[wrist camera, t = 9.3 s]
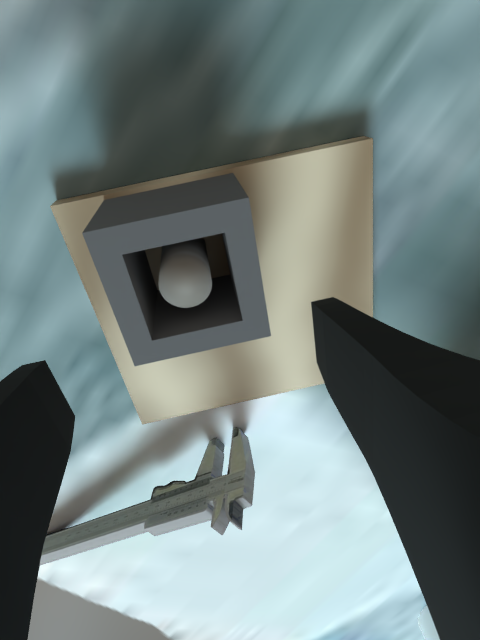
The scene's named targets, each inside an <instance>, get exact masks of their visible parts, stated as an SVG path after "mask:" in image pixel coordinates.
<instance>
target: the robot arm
mask: <svg viewBox="0 0 480 640" xmlns="http://www.w3.org/2000/svg"><path fill="white" fill-rule="evenodd" d="M311 308H312V318H313V329H314V340H315V351H316V361H317V365H318V367H319V370H320V372H321V375H322V378H323V380H324V383H325V385H326V388H327V390H328V392H329V394H330V396H331V398H332V400H333V402H334V403H335V405H336V407H337V409H338V411H339V413H340V414H341V416H342V418H343V420H344V421H345V423H346V425H347V427H348V429H349V430H350V432H351V434H352V436H353V438H354V439H355V441H356V443H357V445H358V446H359V448H360V450H361V452H362V454H363V455H364V457H365V459H366V461H367V463H368V465H369V467H370V469H371V471H372V473H373V475H374V477H375V479H376V482H377V484H378V486H379V489H380V491H381V493H382V496H383V498H384V500H385V503H386V505H387V507H388V509H389V512H390V514H391V517H392V519H393V522H394V524H395V526H396V529H397V531H398V534H399V536H400V538H401V541H402V543H403V546H404V548H405V550H406V553H407V556H408V558H409V561H410V563H411V566H412V568H413V571H414V573H415V576H416V578H417V581H418V583H419V586H420V588H421V591H422V593H423V596H424V599H425V601H426V604H427V606H428V609H429V612H430V614H431V617H432V620H433V622H434V625H435V628H436V630H437V633H438V636H439V638H440V640H480V361H479V360H476V359H473V358H469V357H466V356H463V355H460V354H457V353H454V352H452V351H449V350H446V349H443V348H440V347H437V346H435V345H432V344H429V343H427V342H424V341H422V340H420V339H417V338H415V337H413V336H410V335H408V334H406V333H403V332H401V331H399V330H397V329H395V328H393V327H391V326H388V325H386V324H384V323H382V322H380V321H378V320H376V319H375V318H373V317H371V316H369V315H367V314H365V313H363V312H361V311H359V310H357V309H356V308H354V307H352V306H350V305H348V304H346V303H344V302H343V301H341V300H339V299H337V298H334V297H331V298H326V299H322V300H317V301H312V302H311ZM74 421H75V415H74V413H73V411H72V410H71V408H70V406H69V404H68V402H67V400H66V398H65V397H64V395H63V393H62V391H61V389H60V387H59V385H58V384H57V382H56V380H55V378H54V376H53V374H52V372H51V370H50V369H49V367H48V365H47V363H46V361H45V360H44V361H40V362H35V363H30V364H26V365H22V366H20V367H19V368H18V369H16V370H15V371H13V372H12V373H11V374H9V375H8V376H7V377H5V378H4V379H3V380H2V381H1V382H0V640H27V638H28V632H29V625H30V619H31V612H32V605H33V599H34V593H35V587H36V582H37V576H38V571H39V566H40V560H41V555H42V550H43V546H44V542H45V538H46V534H47V530H48V527H49V523H50V520H51V517H52V513H53V510H54V506H55V503H56V500H57V496H58V493H59V490H60V486H61V483H62V479H63V476H64V472H65V469H66V465H67V462H68V458H69V454H70V451H71V444H72V438H73V430H74Z"/></svg>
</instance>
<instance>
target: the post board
mask: <svg viewBox="0 0 480 640" xmlns="http://www.w3.org/2000/svg"><path fill="white" fill-rule="evenodd" d="M229 173H233V174H234V175H235V177H236V178H237V180H238V181H239V183H240V184H241V186H242V188H243V189H244V191H245V192H246V194H247V195H248V197H249V202H250V208H251V214H252V220H253V226H254V233H255V239H256V245H257V251H258V257H259V264H260V270H261V276H262V282H263V288H264V295H265V301H266V307H267V313H268V319H269V326H270V332H271V336H269V337H265V338H260V339H256V340H251V341H247V342H242V343H238V344H233V345H229V346H224V347H220V348H215V349H211V350H206V351H202V352H197V353H193V354H188V355H184V356H179V357H175V358H170V359H166V360H161V361H157V362H152V363H148V364H143V365H139V366H134V363H133V361H132V358H131V356H130V353H129V351H128V348H127V346H126V343H125V341H124V338H123V336H122V333H121V330H120V328H119V325H118V323H117V320H116V318H115V315H114V313H113V310H112V308H111V305H110V303H109V300H108V298H107V295H106V293H105V290H104V287H103V285H102V282H101V280H100V277H99V275H98V272H97V270H96V267H95V265H94V262H93V260H92V257H91V255H90V252H89V250H88V247H87V244H86V242H85V239H84V237H83V234H82V232H83V231H84V229H85V228H86V226H87V225H88V223H89V222H90V220H91V219H92V217H93V216H94V214H95V213H96V211H97V210H98V208H99V207H100V205H101V204H102V202H103V201H104V200H106V199H111V198H116V197H121V196H125V195H130V194H135V193H139V192H144V191H149V190H154V189H158V188H163V187H168V186H173V185H177V184H182V183H187V182H192V181H196V180H201V179H206V178H210V177H215V176H220V175H225V174H229ZM50 207H51V209H52V212H53V214H54V216H55V219H56V221H57V223H58V226H59V228H60V231H61V233H62V235H63V238H64V240H65V242H66V245H67V247H68V249H69V252H70V254H71V257H72V259H73V261H74V264H75V266H76V268H77V271H78V273H79V276H80V278H81V280H82V283H83V285H84V287H85V290H86V292H87V294H88V297H89V299H90V302H91V304H92V306H93V309H94V311H95V313H96V316H97V318H98V320H99V323H100V325H101V328H102V330H103V332H104V335H105V337H106V339H107V342H108V344H109V347H110V349H111V351H112V354H113V356H114V358H115V361H116V363H117V365H118V368H119V370H120V373H121V375H122V377H123V380H124V382H125V384H126V387H127V389H128V391H129V394H130V396H131V399H132V401H133V403H134V406H135V408H136V410H137V413H138V415H139V418H140V420H141V422H142V424H147V423H151V422H156V421H160V420H164V419H169V418H173V417H178V416H182V415H187V414H191V413H195V412H200V411H204V410H209V409H213V408H218V407H222V406H226V405H231V404H235V403H240V402H244V401H249V400H253V399H257V398H262V397H266V396H271V395H275V394H280V393H284V392H288V391H293V390H297V389H302V388H306V387H311V386H315V385H320V384H324V380H323V378H322V375H321V372H320V370H319V367H318V365H317V361H316V351H315V340H314V329H313V318H312V308H311V302H312V301H317V300H322V299H326V298H331V297H334V298H337V299H339V300H341V301H343V302H344V303H346V304H348V305H350V306H352V307H354V308H356V309H357V310H359V311H361V312H363V313H365V314H367V315H369V316H371V317H373V138H369V137H366V136H361V137H356V138H351V139H347V140H342V141H337V142H332V143H328V144H323V145H318V146H313V147H309V148H304V149H299V150H294V151H290V152H285V153H280V154H275V155H271V156H266V157H261V158H256V159H252V160H247V161H242V162H237V163H233V164H228V165H223V166H218V167H214V168H209V169H204V170H199V171H195V172H190V173H185V174H180V175H176V176H171V177H166V178H161V179H157V180H152V181H147V182H142V183H138V184H133V185H128V186H123V187H118V188H114V189H109V190H104V191H99V192H95V193H90V194H85V195H80V196H76V197H71V198H66V199H61V200H57V201H55V202H54V203H53V204H52V205H51V206H50ZM145 253H146V256H147V259H148V262H149V265H150V268H151V272H152V275H153V278H154V281H155V284H156V287H157V290H160V293H161V295H162V296H163V298H164V299H165V300H166V301H167V302H169V303H170V304H172V305H174V306H177V307H181V308H189V307H194V306H197V305H199V304H201V303H202V302H203V301H205V300H206V298H207V297H208V296H209V294H210V292H211V289H212V279H211V278H216V277H220V276H225V275H230V272H229V267H228V262H227V257H226V252H225V247H224V242H223V238H222V233H221V234H216V235H212V236H207V237H202V238H198V239H193V240H188V241H184V242H179V243H175V244H170V245H165V246H161V247H156V248H151V249H147V250H145Z"/></svg>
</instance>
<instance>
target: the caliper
mask: <svg viewBox="0 0 480 640" xmlns="http://www.w3.org/2000/svg"><path fill="white" fill-rule="evenodd" d="M223 452H224V445H223V444H222V443H221V442H220V441H219V440H218V439H217V438H214V439H212V440H211V441H210V442H209V444H208V446H207V449H206V451H205V454H204V457H203V459H202V462H201V464H200V467H199V469H198V472H197V474H196V477H195V479H194V480H192V481H189V482H185V481H172V482H170V483H169V484H167V485H165V486H157V487H155V488H154V489H153V492H152V496H151V500H148V501H145V502H142V503H139V504H136V505H134V506H131V507H128V508H125V509H122V510H119V511H116V512H113V513H111V514H108V515H105V516H102V517H99V518H96V519H93V520H90V521H87V522H85V523H82V524H79V525H76V526H73V527H70V528H67V529H64V530H61V531H58V532H55V533H52V534H49V535H46V538H45V542H44V546H43V550H42V555H41V560H40V565H43V564H46V563H49V562H52V561H56V560H59V559H62V558H65V557H69V556H72V555H75V554H78V553H81V552H85V551H88V550H91V549H94V548H97V547H101V546H104V545H107V544H110V543H113V542H117V541H120V540H123V539H126V538H129V537H133V536H136V535H139V534H142V533H145V532H149V533H151V534H152V535H154V536H157V535H161V534H164V533H168V532H171V531H175V530H178V529H182V528H185V527H189V526H192V525H196V524H199V523H203V522H206V521H210V520H212V521H211V527H212V528H213V529H214V530H216V531H217V532H218V533H220V534H221V535H223V534H224V532H225V530H226V528H227V526H228V524H229V521H230V522H231V523H232V524H234V525H235V526H236V527H237V528H238V529H240V530H242V518H243V509H245V508H247V507H250V506H252V500H253V489H254V477H255V471H254V465H253V460H252V455H251V449H250V445H249V440H248V437H247V436H246V435H245V434H244V433H243V432H242V431H241V430H240V429H239V428H233V433H232V443H231V451H230V458H229V466H228V474H227V475H223V476H222V469H223V461H224V453H223Z"/></svg>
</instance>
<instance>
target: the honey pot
mask: <svg viewBox="0 0 480 640" xmlns="http://www.w3.org/2000/svg"><path fill="white" fill-rule="evenodd" d="M418 625H419V627H420V630H421V632H422V634H423V636H424V639H425V640H440V638H439V636H438V633H437V630H436V628H435V625H434V622H433V620H432V617H431V614H430V612H429V609H428V606H427V605H426V606H425V607H424V608H423V609H422V611H421V612H420V615H419V617H418Z"/></svg>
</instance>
